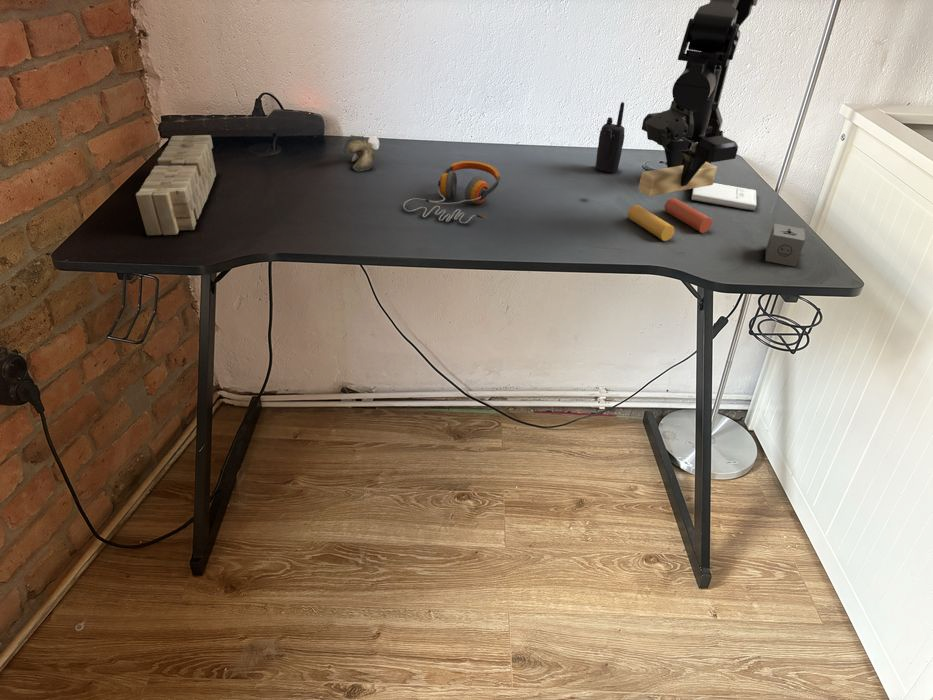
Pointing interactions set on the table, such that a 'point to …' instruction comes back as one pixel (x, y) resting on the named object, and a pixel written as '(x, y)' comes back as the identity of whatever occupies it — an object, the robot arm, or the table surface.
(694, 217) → the terracotta rod
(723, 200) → the hard drive
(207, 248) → the table surface
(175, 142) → the block tower
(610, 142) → the two-way radio
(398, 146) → the table surface
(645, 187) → the light wooden bar
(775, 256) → the dice cube
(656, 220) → the ochre rod
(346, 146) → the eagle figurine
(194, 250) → the table surface
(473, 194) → the headphones
